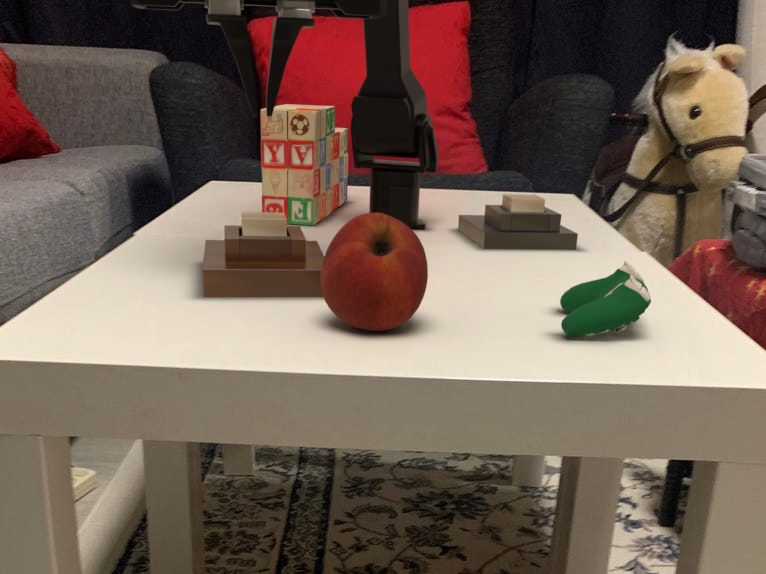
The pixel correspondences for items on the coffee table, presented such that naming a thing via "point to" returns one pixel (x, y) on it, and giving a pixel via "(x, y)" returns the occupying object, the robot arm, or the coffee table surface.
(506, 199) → the key
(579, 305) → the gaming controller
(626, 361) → the coffee table surface
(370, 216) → the apple
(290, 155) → the stack of blocks
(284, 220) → the key
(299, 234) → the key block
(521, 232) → the grey stepped pedestal
